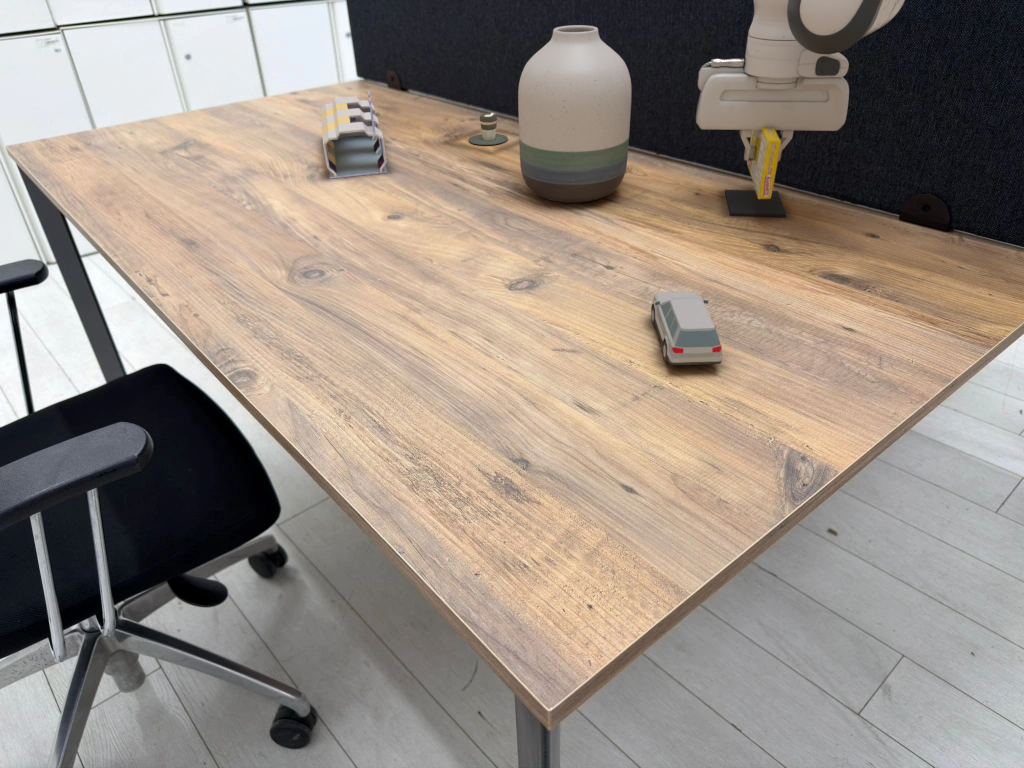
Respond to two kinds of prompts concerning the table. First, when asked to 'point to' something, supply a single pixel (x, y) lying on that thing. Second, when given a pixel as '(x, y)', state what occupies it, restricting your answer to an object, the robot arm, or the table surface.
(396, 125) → the table surface
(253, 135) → the table surface
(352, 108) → the diorama
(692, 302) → the toy car
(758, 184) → the candy box
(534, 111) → the vase
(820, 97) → the robot arm
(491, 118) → the striped post on disc
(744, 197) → the mat
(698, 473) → the table surface
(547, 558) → the table surface
